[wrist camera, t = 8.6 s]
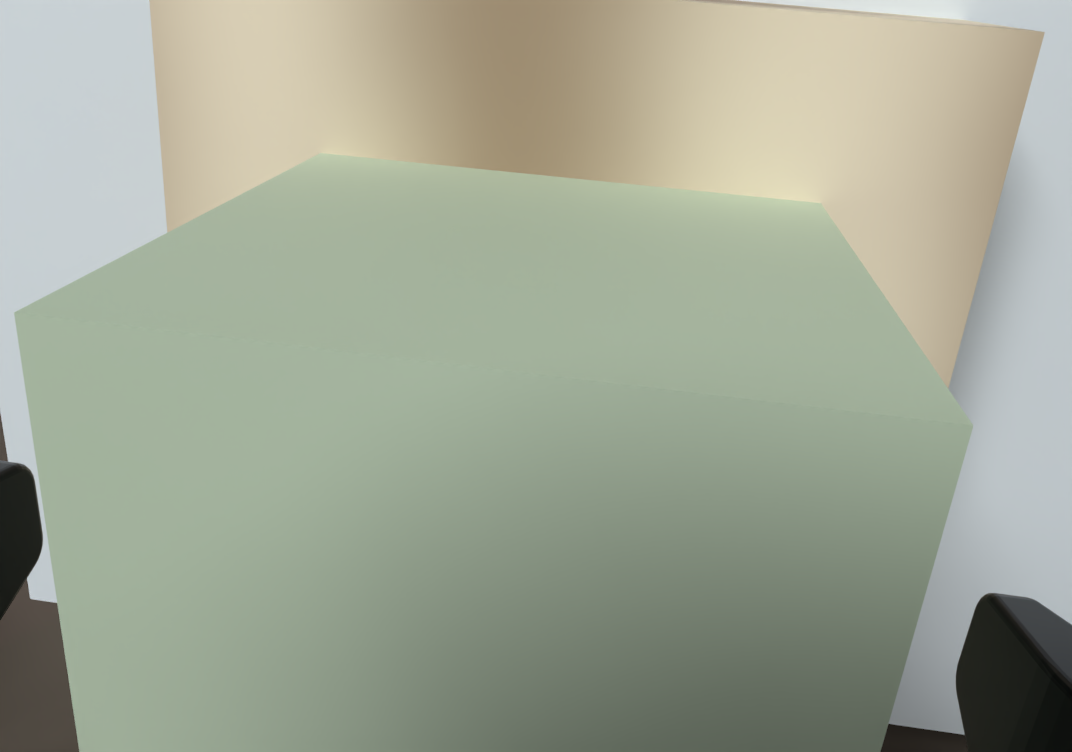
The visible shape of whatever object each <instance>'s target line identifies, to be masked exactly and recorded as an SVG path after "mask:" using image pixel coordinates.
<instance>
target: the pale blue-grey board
mask: <svg viewBox="0 0 1072 752" xmlns="http://www.w3.org/2000/svg"><path fill="white" fill-rule="evenodd" d="M737 1H749V2H761V3H772V4H784V5H796V6H807V7H819V8H831V9H843V10H854V11H866V12H878V13H889V14H901V15H913V16H925V17H936V18H948V19H960V20H968V21H975V22H981V23H988V24H994V25H1001V26H1008V27H1014V28H1021V29H1028V30H1034V31H1041V32H1045V33H1044V37H1043V41H1042V45H1041V48H1040V52H1039V56H1038V59H1037V63H1036V67H1035V70H1034V74H1033V78H1032V81H1031V85H1030V89H1029V93H1028V96H1027V100H1026V104H1025V107H1024V111H1023V115H1022V118H1021V122H1020V126H1019V129H1018V133H1017V137H1016V140H1015V144H1014V148H1013V152H1012V155H1011V159H1010V163H1009V166H1008V170H1007V174H1006V177H1005V181H1004V185H1003V188H1002V192H1001V196H1000V199H999V203H998V207H997V211H996V214H995V218H994V222H993V225H992V229H991V233H990V236H989V240H988V244H987V247H986V251H985V255H984V258H983V262H982V266H981V270H980V273H979V277H978V281H977V284H976V288H975V292H974V295H973V299H972V303H971V306H970V310H969V314H968V317H967V321H966V325H965V329H964V332H963V336H962V340H961V343H960V347H959V351H958V354H957V358H956V362H955V365H954V369H953V373H952V377H951V380H950V384H949V388H948V389H949V391H950V392H951V394H952V395H953V396H954V398H955V399H956V401H957V402H958V404H959V405H960V407H961V408H962V410H963V411H964V412H965V414H966V415H967V417H968V418H969V420H970V421H971V423H972V424H973V429H972V432H971V436H970V439H969V443H968V446H967V450H966V453H965V457H964V460H963V464H962V467H961V471H960V475H959V478H958V482H957V485H956V489H955V492H954V496H953V499H952V503H951V506H950V510H949V513H948V517H947V520H946V524H945V527H944V531H943V534H942V538H941V541H940V545H939V548H938V552H937V555H936V559H935V562H934V566H933V569H932V573H931V576H930V580H929V583H928V587H927V590H926V594H925V597H924V601H923V604H922V608H921V611H920V615H919V618H918V622H917V625H916V629H915V632H914V636H913V639H912V643H911V646H910V650H909V653H908V657H907V660H906V664H905V667H904V671H903V674H902V678H901V681H900V685H899V688H898V692H897V695H896V699H895V702H894V706H893V709H892V713H891V716H890V720H889V724H894V725H900V726H907V727H914V728H921V729H928V730H935V731H942V732H949V733H955V734H962V735H965V734H964V729H963V724H962V719H961V714H960V709H959V704H958V698H957V693H956V670H957V665H958V661H959V658H960V655H961V652H962V648H963V645H964V642H965V639H966V636H967V633H968V629H969V626H970V623H971V620H972V617H973V614H974V610H975V608H976V605H977V603H978V602H979V600H980V599H981V597H982V596H984V595H985V594H987V593H999V594H1007V595H1015V596H1022V597H1028V598H1032V599H1034V600H1036V601H1038V602H1039V603H1041V604H1042V605H1044V606H1045V607H1047V608H1048V609H1050V610H1051V611H1053V612H1054V613H1055V614H1057V615H1058V616H1060V617H1061V618H1063V619H1064V620H1066V621H1067V622H1069V623H1070V624H1072V0H737ZM166 233H167V222H166V209H165V196H164V183H163V170H162V158H161V145H160V132H159V119H158V106H157V93H156V80H155V67H154V54H153V41H152V28H151V16H150V3H149V0H0V413H1V419H2V425H3V431H4V438H5V444H6V450H7V456H8V462H15V463H21V464H24V465H25V466H27V467H28V468H29V469H30V470H31V472H32V474H33V475H34V479H35V485H36V491H37V498H38V505H39V511H40V518H41V525H42V532H43V546H42V550H41V554H40V556H39V559H38V561H37V563H36V565H35V566H34V568H33V570H32V571H31V573H30V574H29V576H28V577H27V581H28V587H29V593H30V599H35V600H41V601H48V602H55V603H57V597H56V591H55V584H54V577H53V571H52V564H51V557H50V551H49V544H48V537H47V530H46V524H45V517H44V510H43V504H42V497H41V490H40V484H39V477H38V470H37V463H36V457H35V450H34V443H33V437H32V430H31V423H30V417H29V410H28V403H27V396H26V390H25V383H24V376H23V370H22V363H21V356H20V350H19V343H18V336H17V329H16V323H15V316H14V312H16V311H18V310H20V309H22V308H24V307H26V306H28V305H29V304H31V303H33V302H35V301H37V300H39V299H41V298H43V297H45V296H47V295H49V294H51V293H52V292H54V291H56V290H58V289H60V288H62V287H64V286H66V285H68V284H70V283H72V282H74V281H76V280H77V279H79V278H81V277H83V276H85V275H87V274H89V273H91V272H93V271H95V270H97V269H99V268H101V267H102V266H104V265H106V264H108V263H110V262H112V261H114V260H116V259H118V258H120V257H122V256H124V255H126V254H127V253H129V252H131V251H133V250H135V249H137V248H139V247H141V246H143V245H145V244H147V243H149V242H151V241H152V240H154V239H156V238H158V237H160V236H162V235H164V234H166Z"/></svg>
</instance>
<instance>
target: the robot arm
mask: <svg viewBox="0 0 1072 752" xmlns="http://www.w3.org/2000/svg"><path fill="white" fill-rule="evenodd" d="M42 546H43V532H42V525H41V518H40V511H39V505H38V498H37V491H36V485H35V479H34V475H33V474H32V472H31V470H30V469H29V468H28V467H27V466H25V465H24V464H21V463H15V462H7V461H0V620H1V618H2V617H3V615H4V614H5V612H6V611H7V609H8V607H9V606H10V604H11V603H12V601H13V600H14V598H15V596H16V595H17V593H18V592H19V590H20V588H21V587H22V585H23V584H24V582H25V581H26V579H27V577H28V576H29V574H30V573H31V571H32V570H33V568H34V566H35V565H36V563H37V561H38V559H39V556H40V554H41V550H42ZM956 693H957V698H958V704H959V709H960V714H961V719H962V724H963V729H964V734H965V739H966V744H967V749H968V752H1072V624H1070V623H1069V622H1067V621H1066V620H1064V619H1063V618H1061V617H1060V616H1058V615H1057V614H1055V613H1054V612H1053V611H1051V610H1050V609H1048V608H1047V607H1045V606H1044V605H1042V604H1041V603H1039V602H1038V601H1036V600H1034V599H1032V598H1028V597H1022V596H1015V595H1007V594H999V593H987V594H985V595H984V596H982V597H981V599H980V600H979V602H978V603H977V605H976V608H975V610H974V614H973V617H972V620H971V623H970V626H969V629H968V633H967V636H966V639H965V642H964V645H963V648H962V652H961V655H960V658H959V661H958V665H957V670H956Z"/></svg>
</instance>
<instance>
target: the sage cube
mask: <svg viewBox="0 0 1072 752" xmlns="http://www.w3.org/2000/svg"><path fill="white" fill-rule="evenodd" d="M14 316H15V323H16V329H17V336H18V343H19V350H20V356H21V363H22V370H23V376H24V383H25V390H26V396H27V403H28V410H29V417H30V423H31V430H32V437H33V443H34V450H35V457H36V463H37V470H38V477H39V484H40V490H41V497H42V504H43V510H44V517H45V524H46V530H47V537H48V544H49V551H50V557H51V564H52V571H53V577H54V584H55V591H56V597H57V604H58V611H59V618H60V624H61V631H62V638H63V644H64V651H65V658H66V665H67V671H68V678H69V685H70V691H71V698H72V705H73V711H74V718H75V725H76V732H77V738H78V745H79V752H881V748H882V745H883V741H884V738H885V734H886V731H887V727H888V724H889V720H890V716H891V713H892V709H893V706H894V702H895V699H896V695H897V692H898V688H899V685H900V681H901V678H902V674H903V671H904V667H905V664H906V660H907V657H908V653H909V650H910V646H911V643H912V639H913V636H914V632H915V629H916V625H917V622H918V618H919V615H920V611H921V608H922V604H923V601H924V597H925V594H926V590H927V587H928V583H929V580H930V576H931V573H932V569H933V566H934V562H935V559H936V555H937V552H938V548H939V545H940V541H941V538H942V534H943V531H944V527H945V524H946V520H947V517H948V513H949V510H950V506H951V503H952V499H953V496H954V492H955V489H956V485H957V482H958V478H959V475H960V471H961V467H962V464H963V460H964V457H965V453H966V450H967V446H968V443H969V439H970V436H971V432H972V429H973V424H972V423H971V421H970V420H969V418H968V417H967V415H966V414H965V412H964V411H963V410H962V408H961V407H960V405H959V404H958V402H957V401H956V399H955V398H954V396H953V395H952V394H951V392H950V391H949V389H948V388H947V386H946V385H945V383H944V382H943V380H942V379H941V378H940V376H939V375H938V373H937V372H936V370H935V369H934V367H933V366H932V364H931V363H930V361H929V360H928V359H927V357H926V356H925V354H924V353H923V351H922V350H921V348H920V347H919V345H918V344H917V343H916V341H915V340H914V338H913V337H912V335H911V334H910V332H909V331H908V329H907V328H906V327H905V325H904V324H903V322H902V321H901V319H900V318H899V316H898V315H897V313H896V312H895V310H894V309H893V308H892V306H891V305H890V303H889V302H888V300H887V299H886V297H885V296H884V294H883V293H882V292H881V290H880V289H879V287H878V286H877V284H876V283H875V281H874V280H873V278H872V277H871V276H870V274H869V273H868V271H867V270H866V268H865V267H864V265H863V264H862V262H861V261H860V260H859V258H858V257H857V255H856V254H855V252H854V251H853V249H852V248H851V246H850V245H849V243H848V242H847V241H846V239H845V238H844V236H843V235H842V233H841V232H840V230H839V229H838V227H837V226H836V225H835V223H834V222H833V220H832V219H831V217H830V216H829V214H828V213H827V211H826V210H825V209H824V207H823V206H822V204H821V203H814V202H804V201H795V200H785V199H775V198H765V197H755V196H745V195H735V194H725V193H715V192H705V191H695V190H685V189H675V188H665V187H655V186H645V185H635V184H625V183H615V182H605V181H595V180H585V179H575V178H565V177H555V176H545V175H535V174H525V173H515V172H505V171H495V170H485V169H475V168H465V167H455V166H445V165H435V164H425V163H415V162H405V161H395V160H385V159H375V158H365V157H355V156H345V155H335V154H326V153H320V154H318V155H316V156H314V157H312V158H310V159H308V160H306V161H304V162H302V163H300V164H298V165H297V166H295V167H293V168H291V169H289V170H287V171H285V172H283V173H281V174H279V175H277V176H275V177H273V178H272V179H270V180H268V181H266V182H264V183H262V184H260V185H258V186H256V187H254V188H252V189H250V190H249V191H247V192H245V193H243V194H241V195H239V196H237V197H235V198H233V199H231V200H229V201H227V202H225V203H224V204H222V205H220V206H218V207H216V208H214V209H212V210H210V211H208V212H206V213H204V214H202V215H200V216H199V217H197V218H195V219H193V220H191V221H189V222H187V223H185V224H183V225H181V226H179V227H177V228H175V229H174V230H172V231H170V232H168V233H166V234H164V235H162V236H160V237H158V238H156V239H154V240H152V241H151V242H149V243H147V244H145V245H143V246H141V247H139V248H137V249H135V250H133V251H131V252H129V253H127V254H126V255H124V256H122V257H120V258H118V259H116V260H114V261H112V262H110V263H108V264H106V265H104V266H102V267H101V268H99V269H97V270H95V271H93V272H91V273H89V274H87V275H85V276H83V277H81V278H79V279H77V280H76V281H74V282H72V283H70V284H68V285H66V286H64V287H62V288H60V289H58V290H56V291H54V292H52V293H51V294H49V295H47V296H45V297H43V298H41V299H39V300H37V301H35V302H33V303H31V304H29V305H28V306H26V307H24V308H22V309H20V310H18V311H16V312H14Z"/></svg>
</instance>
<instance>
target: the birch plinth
mask: <svg viewBox="0 0 1072 752" xmlns="http://www.w3.org/2000/svg"><path fill="white" fill-rule="evenodd" d="M149 3H150V16H151V28H152V41H153V54H154V67H155V80H156V93H157V106H158V119H159V132H160V145H161V158H162V170H163V183H164V196H165V209H166V222H167V233H168V232H170V231H172V230H174V229H175V228H177V227H179V226H181V225H183V224H185V223H187V222H189V221H191V220H193V219H195V218H197V217H199V216H200V215H202V214H204V213H206V212H208V211H210V210H212V209H214V208H216V207H218V206H220V205H222V204H224V203H225V202H227V201H229V200H231V199H233V198H235V197H237V196H239V195H241V194H243V193H245V192H247V191H249V190H250V189H252V188H254V187H256V186H258V185H260V184H262V183H264V182H266V181H268V180H270V179H272V178H273V177H275V176H277V175H279V174H281V173H283V172H285V171H287V170H289V169H291V168H293V167H295V166H297V165H298V164H300V163H302V162H304V161H306V160H308V159H310V158H312V157H314V156H316V155H318V154H320V153H326V154H335V155H345V156H355V157H365V158H375V159H385V160H395V161H405V162H415V163H425V164H435V165H445V166H455V167H465V168H475V169H485V170H495V171H505V172H515V173H525V174H535V175H545V176H555V177H565V178H575V179H585V180H595V181H605V182H615V183H625V184H635V185H645V186H655V187H665V188H675V189H685V190H695V191H705V192H715V193H725V194H735V195H745V196H755V197H765V198H775V199H785V200H795V201H804V202H814V203H821V204H822V206H823V207H824V209H825V210H826V211H827V213H828V214H829V216H830V217H831V219H832V220H833V222H834V223H835V225H836V226H837V227H838V229H839V230H840V232H841V233H842V235H843V236H844V238H845V239H846V241H847V242H848V243H849V245H850V246H851V248H852V249H853V251H854V252H855V254H856V255H857V257H858V258H859V260H860V261H861V262H862V264H863V265H864V267H865V268H866V270H867V271H868V273H869V274H870V276H871V277H872V278H873V280H874V281H875V283H876V284H877V286H878V287H879V289H880V290H881V292H882V293H883V294H884V296H885V297H886V299H887V300H888V302H889V303H890V305H891V306H892V308H893V309H894V310H895V312H896V313H897V315H898V316H899V318H900V319H901V321H902V322H903V324H904V325H905V327H906V328H907V329H908V331H909V332H910V334H911V335H912V337H913V338H914V340H915V341H916V343H917V344H918V345H919V347H920V348H921V350H922V351H923V353H924V354H925V356H926V357H927V359H928V360H929V361H930V363H931V364H932V366H933V367H934V369H935V370H936V372H937V373H938V375H939V376H940V378H941V379H942V380H943V382H944V383H945V385H946V386H947V388H949V384H950V380H951V377H952V373H953V369H954V365H955V362H956V358H957V354H958V351H959V347H960V343H961V340H962V336H963V332H964V329H965V325H966V321H967V317H968V314H969V310H970V306H971V303H972V299H973V295H974V292H975V288H976V284H977V281H978V277H979V273H980V270H981V266H982V262H983V258H984V255H985V251H986V247H987V244H988V240H989V236H990V233H991V229H992V225H993V222H994V218H995V214H996V211H997V207H998V203H999V199H1000V196H1001V192H1002V188H1003V185H1004V181H1005V177H1006V174H1007V170H1008V166H1009V163H1010V159H1011V155H1012V152H1013V148H1014V144H1015V140H1016V137H1017V133H1018V129H1019V126H1020V122H1021V118H1022V115H1023V111H1024V107H1025V104H1026V100H1027V96H1028V93H1029V89H1030V85H1031V81H1032V78H1033V74H1034V70H1035V67H1036V63H1037V59H1038V56H1039V52H1040V48H1041V45H1042V41H1043V37H1044V33H1045V32H1041V31H1034V30H1028V29H1021V28H1014V27H1008V26H1001V25H994V24H988V23H981V22H975V21H968V20H960V19H948V18H936V17H925V16H913V15H901V14H889V13H878V12H866V11H854V10H843V9H831V8H819V7H807V6H796V5H784V4H772V3H761V2H749V1H737V0H149Z"/></svg>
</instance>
